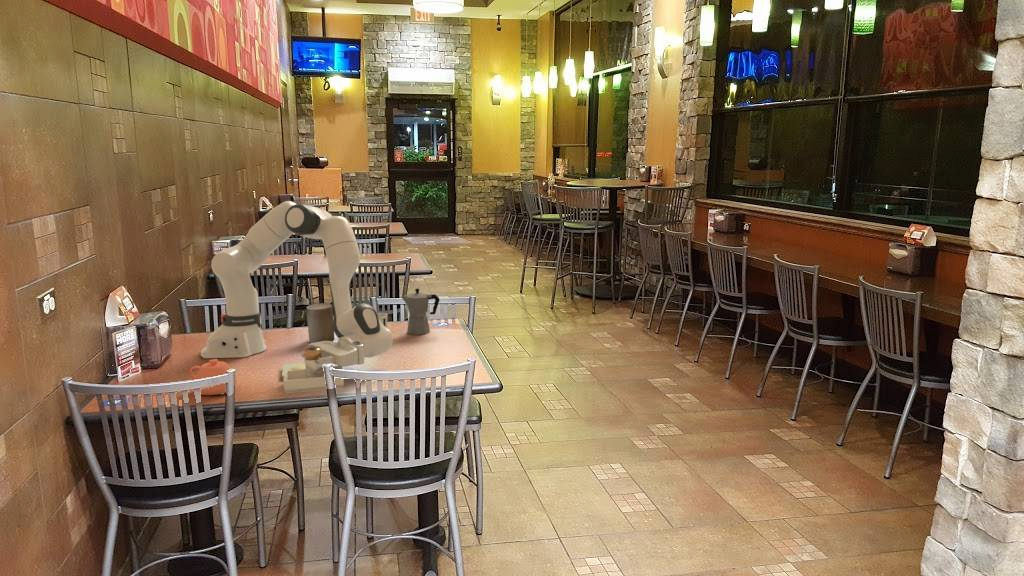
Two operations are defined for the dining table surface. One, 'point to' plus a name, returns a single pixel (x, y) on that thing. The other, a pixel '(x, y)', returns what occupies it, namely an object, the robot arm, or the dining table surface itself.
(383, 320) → the cup
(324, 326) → the pillar candle
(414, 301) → the coffeepot
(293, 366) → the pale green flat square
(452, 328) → the dining table surface
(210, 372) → the sugar bowl
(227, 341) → the robot arm
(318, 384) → the trough
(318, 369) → the battery cell
